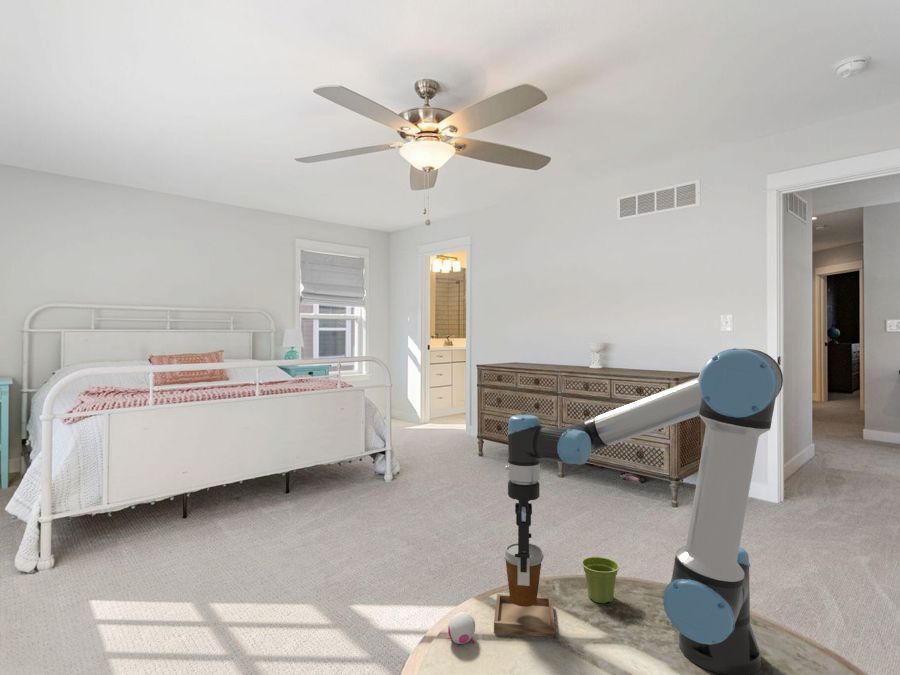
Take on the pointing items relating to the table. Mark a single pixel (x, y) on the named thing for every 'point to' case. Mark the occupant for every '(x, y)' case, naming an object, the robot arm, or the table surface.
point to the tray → (524, 617)
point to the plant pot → (600, 578)
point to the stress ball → (461, 628)
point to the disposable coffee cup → (517, 592)
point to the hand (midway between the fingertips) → (523, 574)
